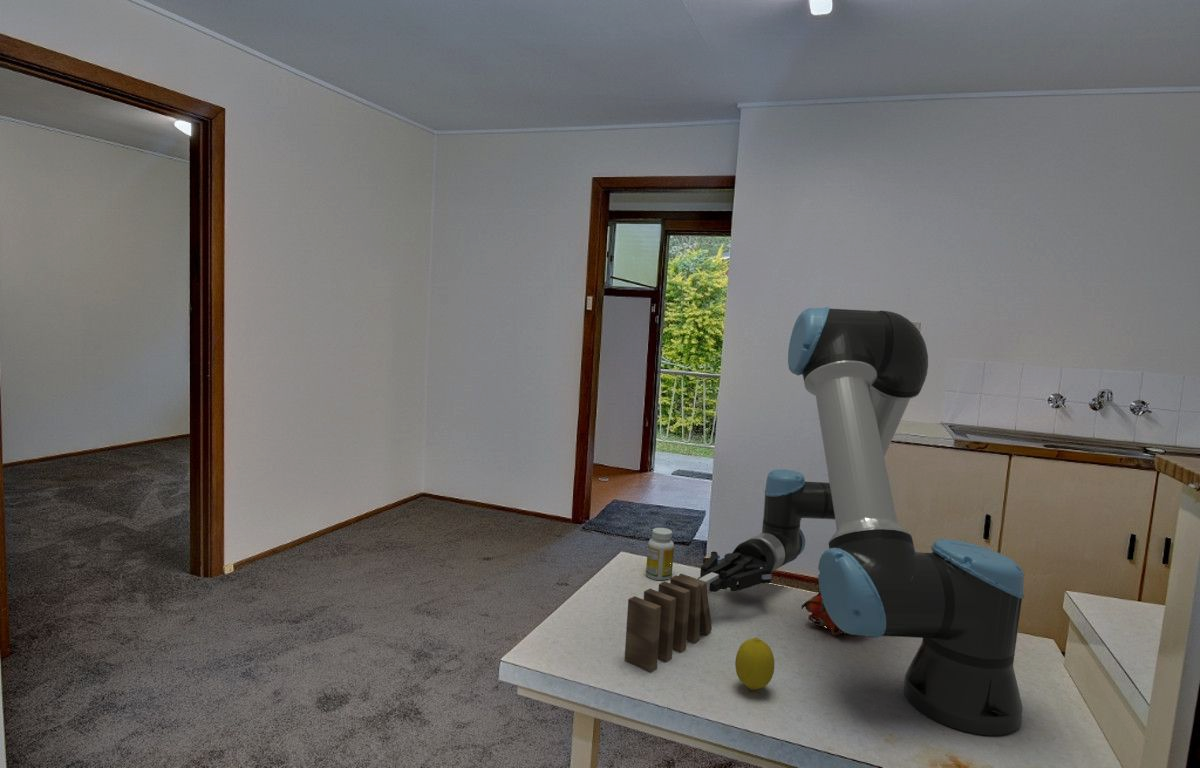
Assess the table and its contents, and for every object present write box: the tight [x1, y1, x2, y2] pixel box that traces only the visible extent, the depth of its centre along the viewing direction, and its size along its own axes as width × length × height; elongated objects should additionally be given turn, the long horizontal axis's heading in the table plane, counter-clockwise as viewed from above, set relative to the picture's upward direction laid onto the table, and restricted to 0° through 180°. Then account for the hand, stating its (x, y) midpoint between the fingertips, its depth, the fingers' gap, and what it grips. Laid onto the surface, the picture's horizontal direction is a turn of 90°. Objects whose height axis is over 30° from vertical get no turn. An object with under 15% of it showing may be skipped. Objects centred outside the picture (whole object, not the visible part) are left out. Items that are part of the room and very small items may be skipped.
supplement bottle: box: [645, 527, 675, 581], centre depth 142 cm, size 5×5×10 cm
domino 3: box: [657, 580, 690, 654], centre depth 113 cm, size 5×2×10 cm, turn 51°
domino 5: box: [678, 573, 713, 636], centre depth 118 cm, size 5×2×10 cm, turn 51°
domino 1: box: [624, 595, 661, 673], centre depth 106 cm, size 5×2×10 cm, turn 51°
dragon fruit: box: [801, 591, 852, 636], centre depth 122 cm, size 8×8×12 cm
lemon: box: [735, 636, 775, 692], centre depth 101 cm, size 6×6×8 cm
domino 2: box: [643, 588, 676, 663], centre depth 110 cm, size 5×2×10 cm, turn 51°
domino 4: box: [669, 575, 701, 645], centre depth 116 cm, size 5×2×10 cm, turn 51°
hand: (695, 590), depth 119 cm, fingers closed
